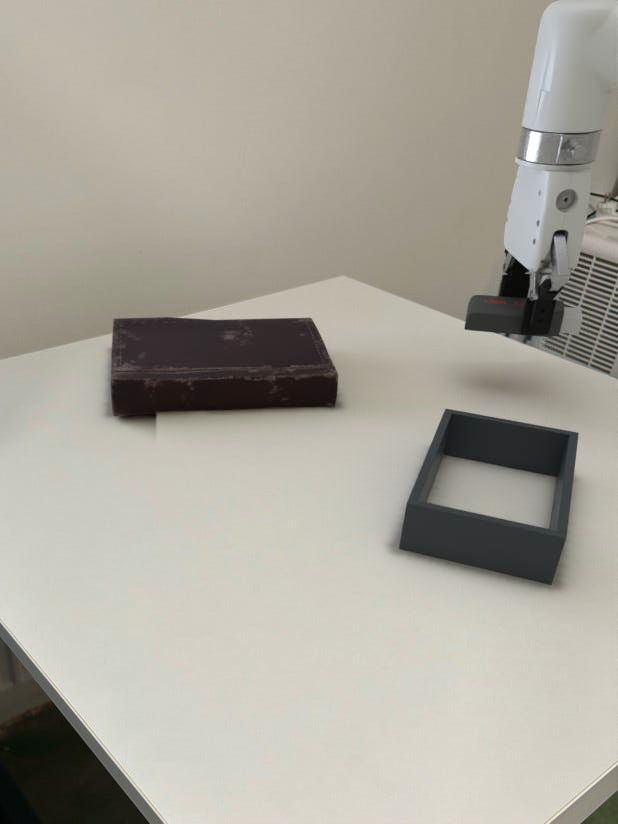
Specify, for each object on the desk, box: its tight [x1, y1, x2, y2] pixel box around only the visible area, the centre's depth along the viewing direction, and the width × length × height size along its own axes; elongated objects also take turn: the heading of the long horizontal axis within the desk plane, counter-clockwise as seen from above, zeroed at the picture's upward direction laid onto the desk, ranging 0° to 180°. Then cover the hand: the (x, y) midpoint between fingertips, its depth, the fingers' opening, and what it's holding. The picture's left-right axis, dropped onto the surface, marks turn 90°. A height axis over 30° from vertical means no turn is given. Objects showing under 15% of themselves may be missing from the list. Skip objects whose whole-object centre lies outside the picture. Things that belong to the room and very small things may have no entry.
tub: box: [398, 408, 579, 586], centre depth 75 cm, size 19×13×6 cm
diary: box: [110, 316, 339, 417], centre depth 98 cm, size 19×25×5 cm
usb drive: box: [463, 294, 584, 338], centre depth 92 cm, size 5×12×3 cm, turn 73°
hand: (521, 319), depth 92 cm, fingers closed on usb drive, 6 cm apart
